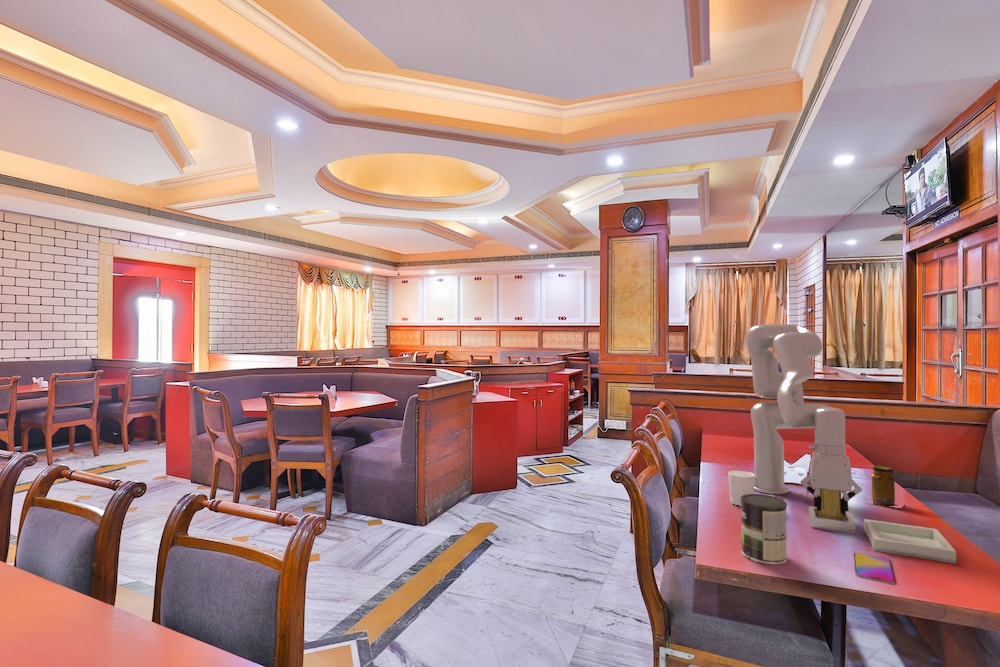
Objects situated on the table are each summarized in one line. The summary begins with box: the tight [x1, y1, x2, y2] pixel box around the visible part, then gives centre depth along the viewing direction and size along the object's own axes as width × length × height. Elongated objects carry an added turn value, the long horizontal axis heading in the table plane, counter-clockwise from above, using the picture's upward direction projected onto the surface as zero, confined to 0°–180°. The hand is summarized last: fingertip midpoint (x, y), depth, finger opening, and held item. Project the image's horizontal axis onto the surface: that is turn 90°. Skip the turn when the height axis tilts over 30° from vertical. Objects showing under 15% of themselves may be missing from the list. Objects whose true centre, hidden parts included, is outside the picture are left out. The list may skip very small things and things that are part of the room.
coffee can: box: [740, 493, 788, 566], centre depth 125 cm, size 10×10×14 cm
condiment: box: [867, 465, 902, 510], centre depth 163 cm, size 7×8×12 cm
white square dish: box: [808, 506, 856, 535], centre depth 145 cm, size 10×10×3 cm
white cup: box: [727, 470, 755, 507], centre depth 164 cm, size 8×8×10 cm
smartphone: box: [853, 552, 896, 585], centre depth 118 cm, size 7×1×15 cm
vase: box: [819, 489, 843, 520], centre depth 145 cm, size 6×6×14 cm
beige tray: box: [863, 518, 957, 565], centre depth 131 cm, size 16×16×3 cm
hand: (830, 510), depth 145 cm, fingers closed on vase, 5 cm apart
